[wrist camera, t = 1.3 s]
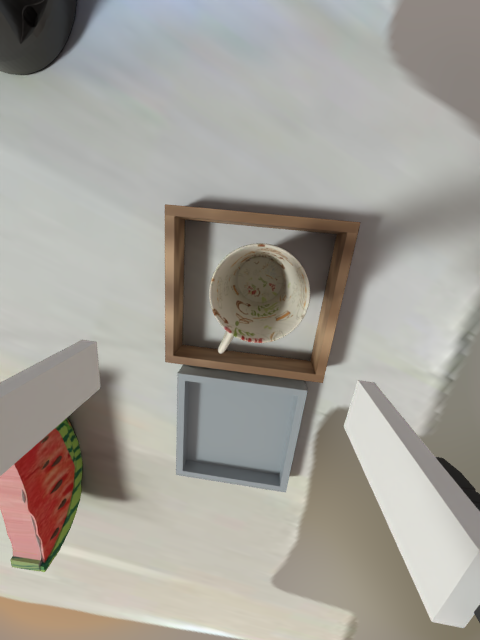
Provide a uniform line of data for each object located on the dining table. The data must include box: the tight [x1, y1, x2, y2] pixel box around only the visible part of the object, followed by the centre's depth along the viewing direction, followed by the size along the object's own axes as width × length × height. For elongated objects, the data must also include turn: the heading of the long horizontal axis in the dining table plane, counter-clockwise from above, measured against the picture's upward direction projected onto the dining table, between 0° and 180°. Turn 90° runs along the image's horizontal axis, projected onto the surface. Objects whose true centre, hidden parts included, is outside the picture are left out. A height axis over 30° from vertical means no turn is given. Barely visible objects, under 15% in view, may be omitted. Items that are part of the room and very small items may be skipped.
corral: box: [165, 204, 360, 383], centre depth 28 cm, size 18×20×4 cm
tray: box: [176, 364, 308, 492], centre depth 34 cm, size 18×17×2 cm
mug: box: [209, 243, 310, 354], centre depth 25 cm, size 8×13×10 cm, turn 152°
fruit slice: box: [0, 418, 83, 572], centre depth 36 cm, size 26×6×10 cm, turn 177°
